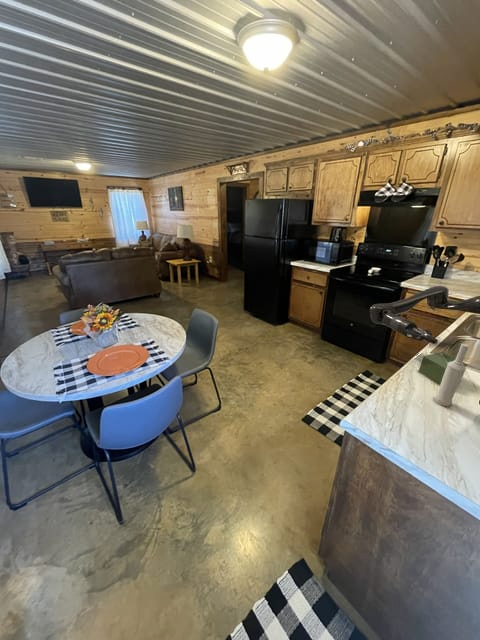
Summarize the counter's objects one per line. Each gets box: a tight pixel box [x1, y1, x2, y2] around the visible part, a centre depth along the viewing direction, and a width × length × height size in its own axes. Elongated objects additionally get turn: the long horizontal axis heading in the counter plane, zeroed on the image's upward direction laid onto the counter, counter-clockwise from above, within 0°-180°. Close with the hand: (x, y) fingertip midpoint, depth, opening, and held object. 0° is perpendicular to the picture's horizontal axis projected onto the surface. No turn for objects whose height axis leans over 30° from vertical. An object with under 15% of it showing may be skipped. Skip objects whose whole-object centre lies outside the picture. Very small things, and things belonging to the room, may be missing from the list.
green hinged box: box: [418, 356, 445, 386], centre depth 114 cm, size 10×11×8 cm
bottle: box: [434, 343, 470, 407], centre depth 95 cm, size 5×5×25 cm
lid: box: [422, 351, 469, 370], centre depth 112 cm, size 11×11×1 cm
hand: (435, 342), depth 114 cm, fingers closed
